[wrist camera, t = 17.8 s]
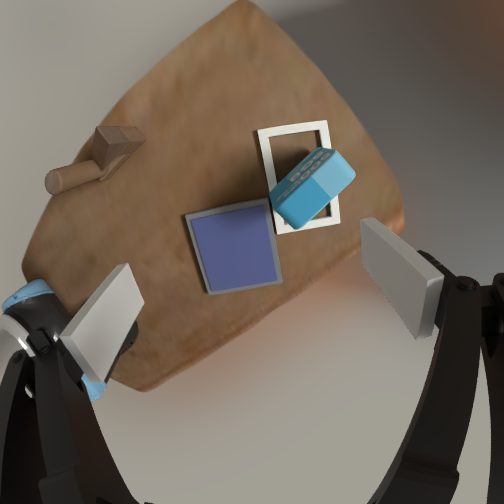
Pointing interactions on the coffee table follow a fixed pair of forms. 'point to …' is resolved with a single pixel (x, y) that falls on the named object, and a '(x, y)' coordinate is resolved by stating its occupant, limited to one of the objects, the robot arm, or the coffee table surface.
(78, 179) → the brown wooden mallet
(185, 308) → the coffee table surface
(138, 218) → the coffee table surface
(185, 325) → the coffee table surface
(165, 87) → the coffee table surface
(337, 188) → the data package
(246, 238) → the ink pad
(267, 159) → the frame
